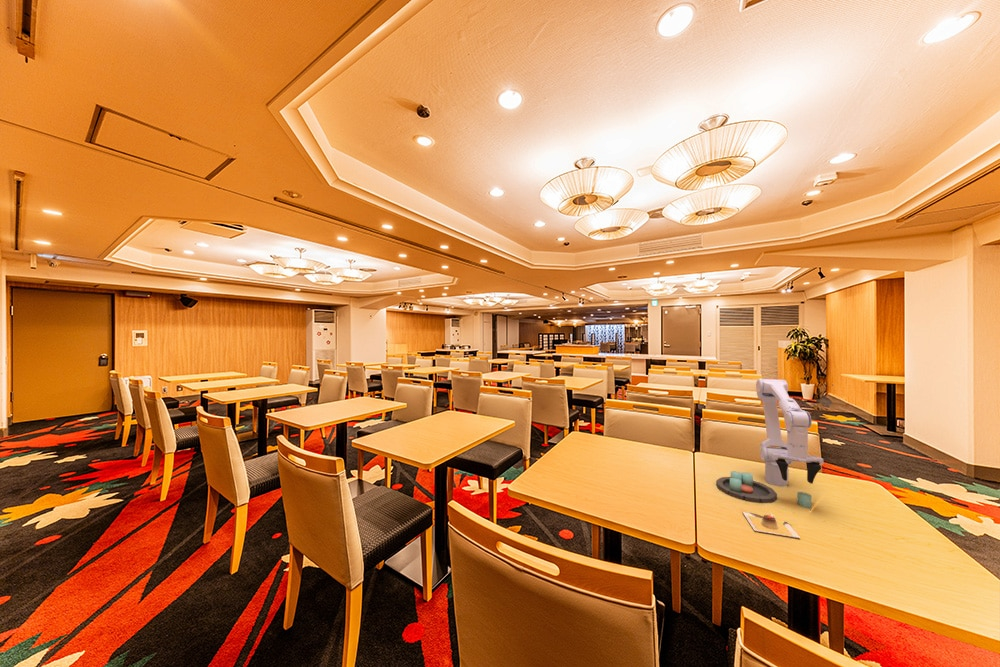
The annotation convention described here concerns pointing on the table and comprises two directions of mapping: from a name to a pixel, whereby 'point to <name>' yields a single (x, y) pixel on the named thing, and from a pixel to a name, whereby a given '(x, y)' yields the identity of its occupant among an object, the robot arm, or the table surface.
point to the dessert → (770, 524)
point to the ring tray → (755, 497)
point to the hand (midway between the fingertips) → (797, 481)
